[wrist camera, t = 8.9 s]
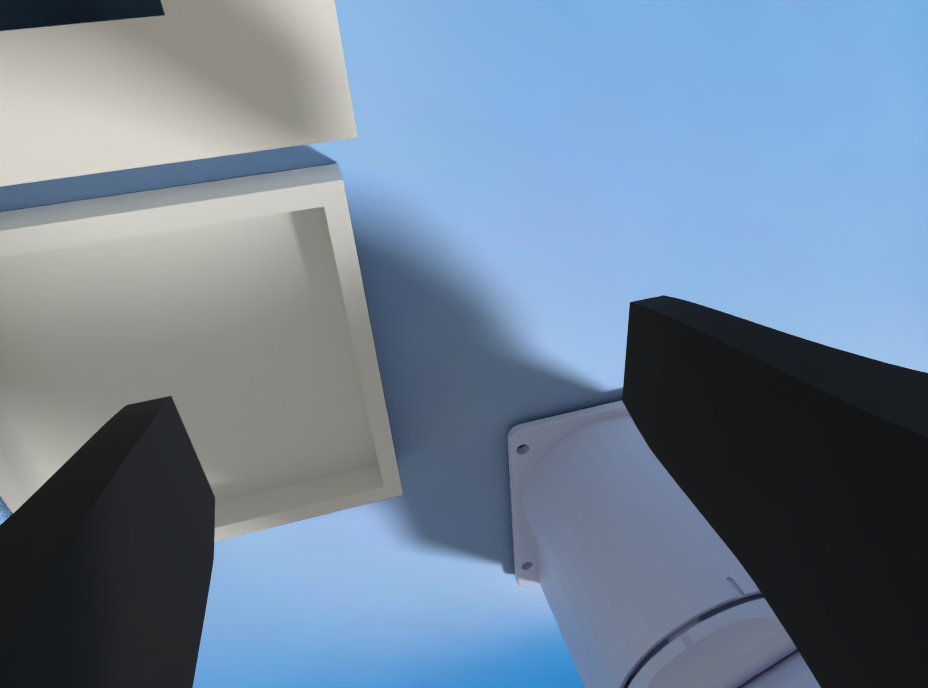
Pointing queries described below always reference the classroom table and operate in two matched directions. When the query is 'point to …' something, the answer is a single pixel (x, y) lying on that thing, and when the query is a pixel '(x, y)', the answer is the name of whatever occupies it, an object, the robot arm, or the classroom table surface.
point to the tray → (199, 340)
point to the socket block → (171, 87)
